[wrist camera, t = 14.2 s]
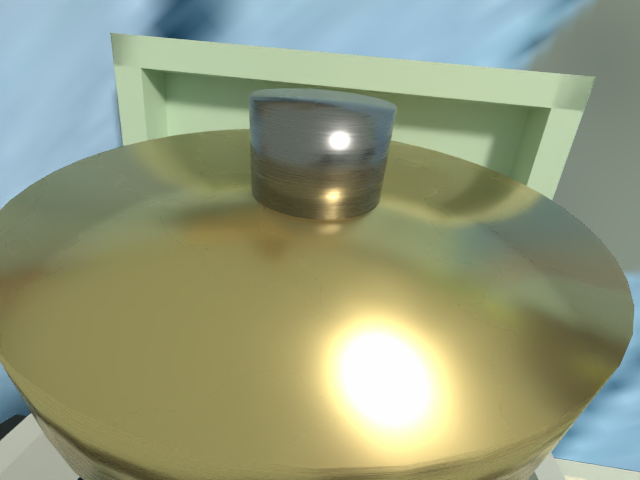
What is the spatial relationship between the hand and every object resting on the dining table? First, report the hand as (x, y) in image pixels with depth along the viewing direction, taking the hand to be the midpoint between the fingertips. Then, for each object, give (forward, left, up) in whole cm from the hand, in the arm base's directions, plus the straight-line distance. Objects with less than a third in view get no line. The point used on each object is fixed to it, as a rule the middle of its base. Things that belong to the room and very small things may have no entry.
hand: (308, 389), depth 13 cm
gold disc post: (0, +3, -6) cm, 7 cm away
